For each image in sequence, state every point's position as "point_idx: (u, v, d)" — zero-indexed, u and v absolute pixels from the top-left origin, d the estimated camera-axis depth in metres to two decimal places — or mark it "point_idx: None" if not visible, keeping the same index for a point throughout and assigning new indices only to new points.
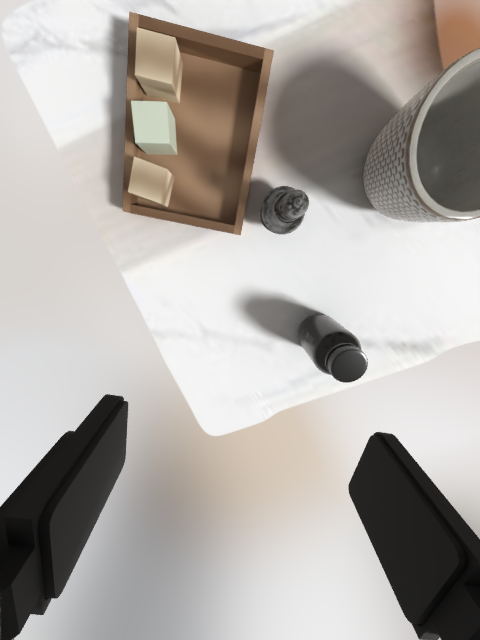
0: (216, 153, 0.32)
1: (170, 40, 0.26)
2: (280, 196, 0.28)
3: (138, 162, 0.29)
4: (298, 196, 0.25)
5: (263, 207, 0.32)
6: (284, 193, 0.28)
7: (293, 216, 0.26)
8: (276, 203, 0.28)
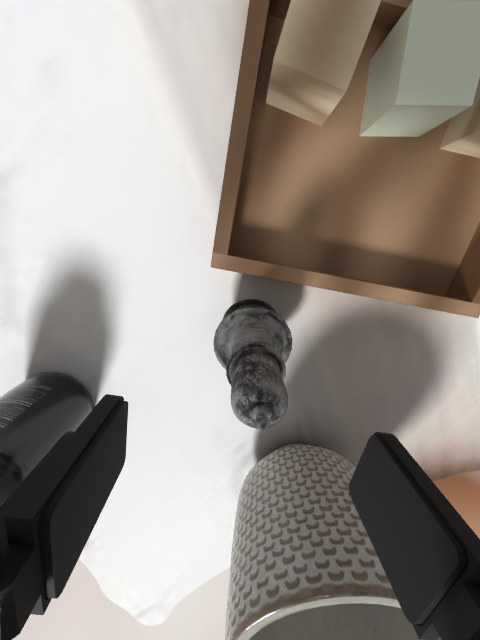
0: (351, 220, 0.18)
1: None
2: (275, 354, 0.14)
3: (370, 1, 0.11)
4: (273, 414, 0.11)
5: (259, 311, 0.17)
6: (281, 361, 0.14)
7: (233, 401, 0.11)
8: (263, 347, 0.14)
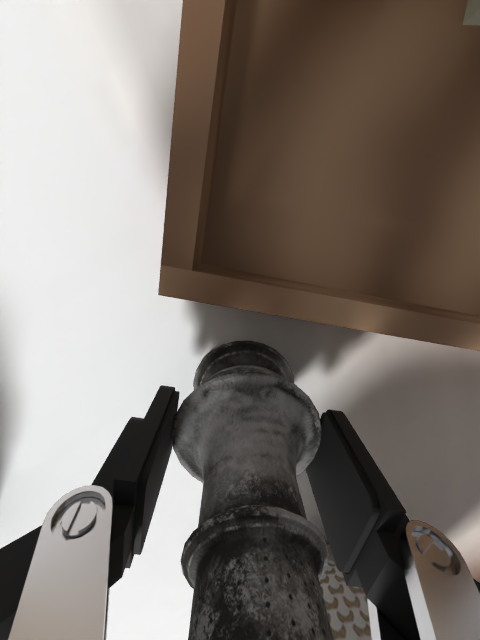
0: (428, 201, 0.10)
1: None
2: (307, 534, 0.05)
3: None
4: None
5: (258, 381, 0.09)
6: (319, 548, 0.06)
7: None
8: (275, 522, 0.05)
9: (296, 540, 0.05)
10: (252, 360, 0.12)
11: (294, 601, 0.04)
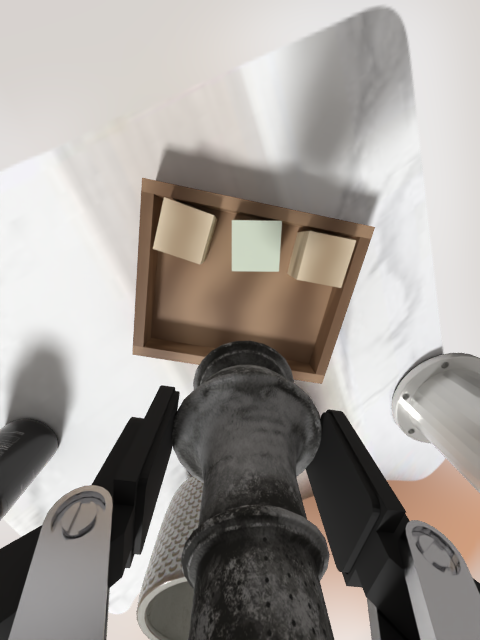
0: (234, 316, 0.26)
1: (339, 281, 0.21)
2: (307, 534, 0.05)
3: (206, 221, 0.19)
4: None
5: (259, 380, 0.09)
6: (319, 548, 0.05)
7: None
8: (275, 522, 0.05)
9: (296, 540, 0.05)
10: (252, 360, 0.12)
11: (294, 601, 0.04)
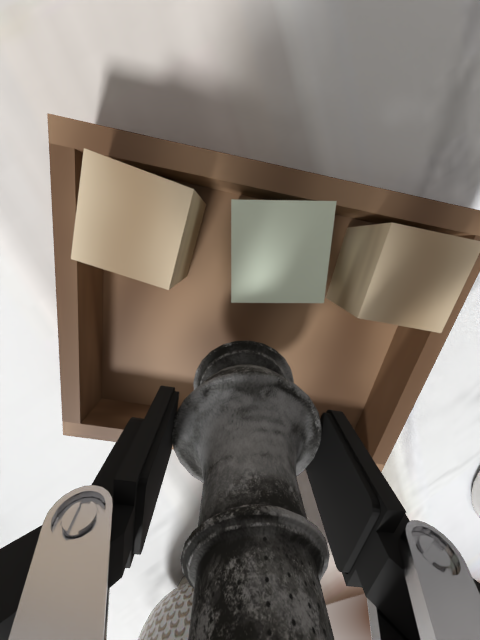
0: None
1: (439, 321, 0.11)
2: (307, 534, 0.05)
3: (177, 201, 0.09)
4: None
5: (259, 380, 0.09)
6: (319, 547, 0.05)
7: None
8: (275, 522, 0.05)
9: (296, 539, 0.05)
10: (252, 360, 0.12)
11: (294, 601, 0.04)
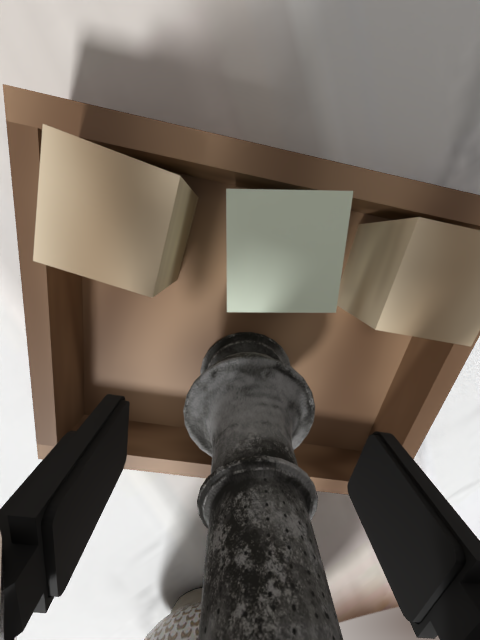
0: None
1: (470, 333, 0.09)
2: (299, 478, 0.07)
3: (161, 190, 0.07)
4: None
5: (260, 363, 0.10)
6: (309, 490, 0.07)
7: None
8: (273, 467, 0.07)
9: (290, 481, 0.07)
10: (253, 349, 0.13)
11: (288, 518, 0.06)
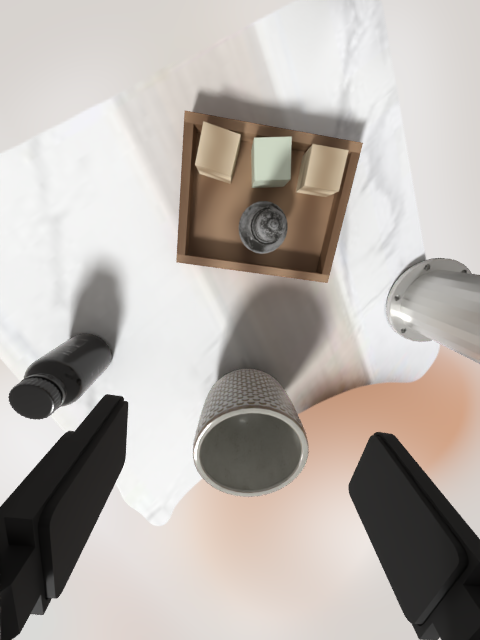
0: None
1: (337, 185, 0.27)
2: None
3: (235, 139, 0.25)
4: (279, 225, 0.22)
5: (266, 203, 0.28)
6: None
7: (258, 223, 0.22)
8: None
9: None
10: None
11: None
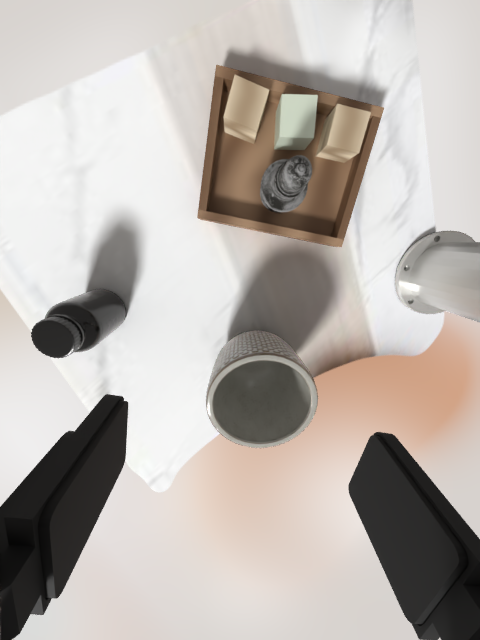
0: None
1: (358, 147, 0.28)
2: None
3: (263, 94, 0.26)
4: (306, 170, 0.23)
5: None
6: None
7: (285, 169, 0.23)
8: None
9: None
10: None
11: None
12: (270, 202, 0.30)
